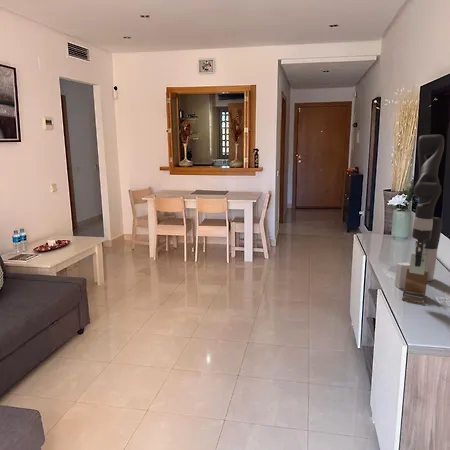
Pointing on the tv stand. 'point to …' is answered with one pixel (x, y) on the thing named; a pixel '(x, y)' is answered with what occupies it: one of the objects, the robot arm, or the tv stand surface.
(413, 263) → the door
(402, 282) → the skincare box
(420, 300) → the cabinet
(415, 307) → the tv stand surface
